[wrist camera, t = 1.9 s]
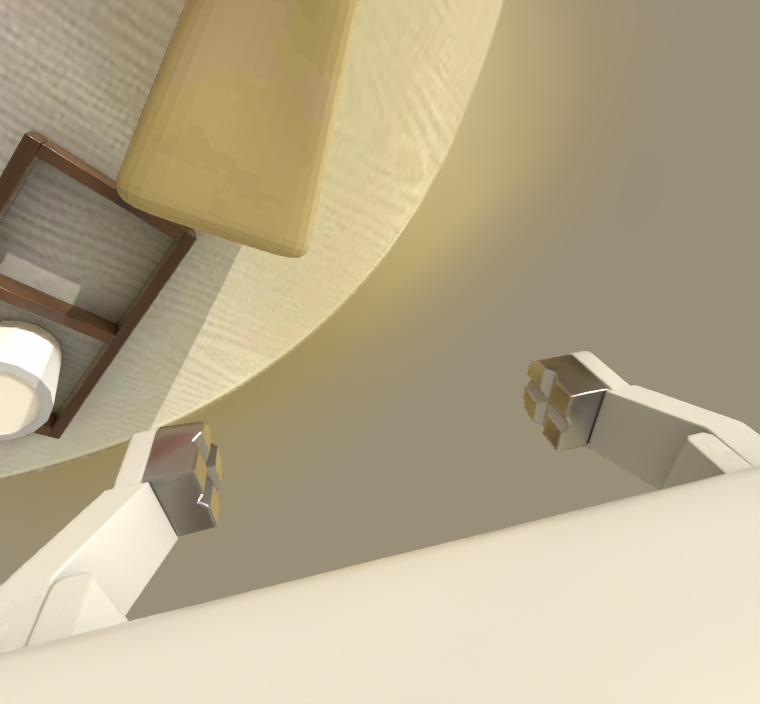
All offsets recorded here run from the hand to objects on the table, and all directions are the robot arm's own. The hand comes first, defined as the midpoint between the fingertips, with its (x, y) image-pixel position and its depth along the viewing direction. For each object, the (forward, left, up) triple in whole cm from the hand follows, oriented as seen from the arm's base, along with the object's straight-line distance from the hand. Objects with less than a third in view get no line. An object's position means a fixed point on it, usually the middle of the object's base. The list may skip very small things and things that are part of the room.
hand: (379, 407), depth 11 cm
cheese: (-5, +9, -30) cm, 32 cm away
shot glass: (-6, -21, -30) cm, 37 cm away
